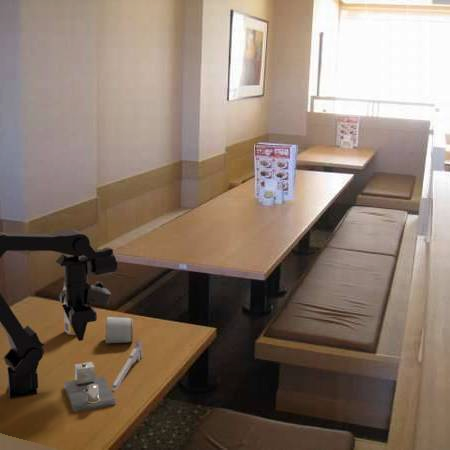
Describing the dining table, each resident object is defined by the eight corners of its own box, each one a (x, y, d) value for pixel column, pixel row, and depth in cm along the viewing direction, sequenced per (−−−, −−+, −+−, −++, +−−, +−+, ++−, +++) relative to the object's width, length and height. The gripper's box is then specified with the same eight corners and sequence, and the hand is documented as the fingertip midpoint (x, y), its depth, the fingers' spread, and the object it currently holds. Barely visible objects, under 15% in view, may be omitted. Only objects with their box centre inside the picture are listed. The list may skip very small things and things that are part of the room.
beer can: (89, 330, 198) (87, 284, 195) (74, 337, 193) (72, 290, 190) (75, 326, 201) (73, 281, 198) (60, 332, 196) (58, 286, 193)
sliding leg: (77, 384, 161) (76, 368, 160) (75, 378, 163) (74, 363, 162) (94, 381, 162) (94, 365, 161) (92, 376, 165) (91, 360, 164)
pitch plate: (73, 412, 151) (72, 393, 150) (64, 387, 163) (63, 369, 161) (115, 404, 155) (115, 385, 154) (103, 380, 166) (102, 363, 165)
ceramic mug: (134, 346, 188) (133, 321, 186) (105, 347, 187) (105, 322, 185) (133, 332, 198) (132, 308, 196) (106, 333, 197) (105, 310, 195)
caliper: (138, 358, 181) (138, 337, 179) (142, 358, 181) (142, 337, 179) (110, 392, 161) (110, 369, 160) (114, 392, 161) (114, 369, 160)
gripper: (116, 286, 158) (117, 345, 162) (99, 266, 175) (101, 319, 178) (70, 292, 154) (73, 352, 157) (58, 270, 170) (60, 325, 174)
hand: (78, 336), depth 167 cm, fingers open, 5 cm apart
